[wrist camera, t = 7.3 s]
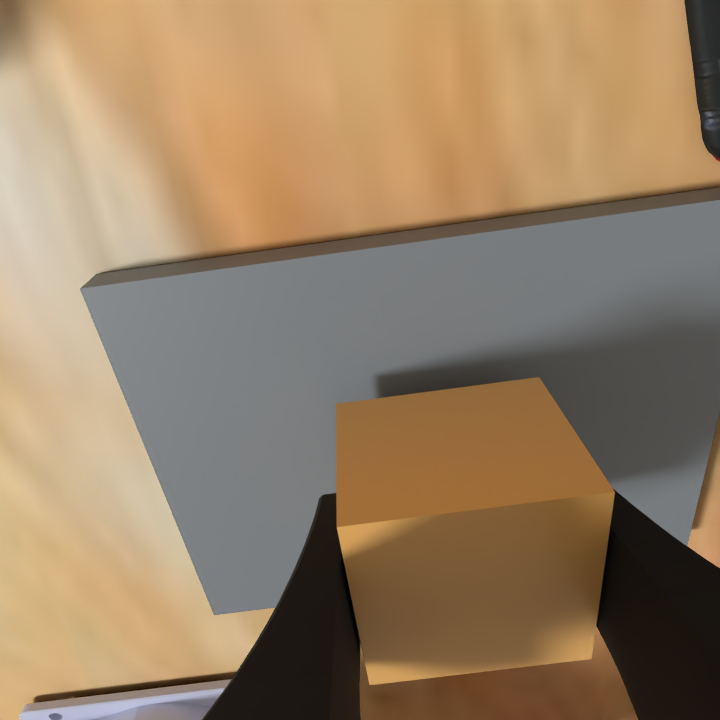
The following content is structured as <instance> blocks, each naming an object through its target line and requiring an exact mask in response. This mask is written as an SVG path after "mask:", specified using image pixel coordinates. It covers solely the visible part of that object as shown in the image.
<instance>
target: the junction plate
mask: <svg viewBox="0 0 720 720" xmlns="http://www.w3.org/2000/svg"><path fill="white" fill-rule="evenodd" d="M80 290H81V293H82V295H83V297H84V300H85V302H86V305H87V307H88V310H89V312H90V314H91V317H92V319H93V322H94V324H95V327H96V329H97V331H98V334H99V336H100V339H101V341H102V344H103V346H104V348H105V351H106V353H107V356H108V358H109V361H110V363H111V365H112V368H113V370H114V373H115V375H116V378H117V380H118V383H119V385H120V387H121V390H122V392H123V395H124V397H125V400H126V402H127V404H128V407H129V409H130V412H131V414H132V417H133V419H134V421H135V424H136V426H137V429H138V431H139V434H140V436H141V438H142V441H143V443H144V446H145V448H146V451H147V453H148V455H149V458H150V460H151V463H152V465H153V468H154V470H155V473H156V475H157V477H158V480H159V482H160V485H161V487H162V490H163V492H164V494H165V497H166V499H167V502H168V504H169V507H170V509H171V511H172V514H173V516H174V519H175V521H176V524H177V526H178V528H179V531H180V533H181V536H182V538H183V541H184V543H185V545H186V548H187V550H188V553H189V555H190V558H191V560H192V562H193V565H194V567H195V570H196V572H197V575H198V577H199V580H200V582H201V584H202V587H203V589H204V592H205V594H206V597H207V599H208V601H209V604H210V606H211V609H212V611H213V614H214V615H219V614H227V613H235V612H243V611H251V610H259V609H267V608H275V607H276V606H277V604H278V602H279V600H280V598H281V596H282V594H283V592H284V590H285V588H286V585H287V583H288V581H289V579H290V577H291V575H292V573H293V571H294V568H295V566H296V564H297V561H298V559H299V556H300V554H301V552H302V549H303V547H304V544H305V542H306V539H307V536H308V534H309V531H310V528H311V525H312V522H313V519H314V516H315V512H316V509H317V505H318V501H319V498H320V497H321V496H322V495H324V494H331V493H336V404H338V403H346V402H353V401H361V400H369V399H376V398H384V397H391V396H399V395H407V394H414V393H422V392H429V391H437V390H445V389H452V388H460V387H467V386H475V385H483V384H490V383H498V382H505V381H513V380H521V379H528V378H536V377H539V378H540V379H541V381H542V382H543V384H544V385H545V387H546V388H547V390H548V391H549V393H550V394H551V396H552V397H553V399H554V400H555V402H556V403H557V405H558V406H559V408H560V409H561V411H562V412H563V414H564V415H565V417H566V419H567V420H568V422H569V423H570V425H571V426H572V428H573V429H574V431H575V432H576V434H577V435H578V437H579V438H580V440H581V441H582V443H583V444H584V446H585V447H586V449H587V450H588V452H589V453H590V455H591V457H592V458H593V460H594V461H595V463H596V464H597V466H598V467H599V469H600V470H601V472H602V473H603V475H604V476H605V478H606V479H607V481H608V482H609V484H610V485H611V487H612V488H613V489H614V490H616V491H617V492H618V493H619V494H620V495H622V496H623V497H624V498H625V499H626V500H628V501H629V502H630V503H631V504H632V505H634V506H635V507H636V508H637V509H639V510H640V511H641V512H642V513H644V514H645V515H646V516H648V517H649V518H650V519H651V520H653V521H654V522H655V523H656V524H658V525H659V526H660V527H661V528H663V529H664V530H665V531H667V532H668V533H669V534H671V535H672V536H673V537H675V538H676V539H678V540H679V541H680V542H682V543H683V544H685V545H686V546H687V544H688V540H689V536H690V532H691V528H692V524H693V520H694V516H695V512H696V508H697V503H698V499H699V495H700V491H701V487H702V483H703V479H704V475H705V471H706V467H707V463H708V459H709V454H710V450H711V446H712V442H713V438H714V434H715V430H716V426H717V422H718V418H719V414H720V187H717V188H710V189H703V190H695V191H688V192H681V193H674V194H667V195H660V196H652V197H645V198H638V199H631V200H624V201H617V202H609V203H602V204H595V205H588V206H581V207H574V208H566V209H559V210H552V211H545V212H538V213H531V214H523V215H516V216H509V217H502V218H495V219H488V220H480V221H473V222H466V223H459V224H452V225H445V226H437V227H430V228H423V229H416V230H409V231H401V232H394V233H387V234H380V235H373V236H366V237H358V238H351V239H344V240H337V241H330V242H323V243H315V244H308V245H301V246H294V247H287V248H280V249H272V250H265V251H258V252H251V253H244V254H237V255H229V256H222V257H215V258H208V259H201V260H194V261H186V262H179V263H172V264H165V265H158V266H151V267H143V268H136V269H129V270H122V271H115V272H108V273H100V274H96V275H95V276H94V277H93V278H92V279H90V280H89V281H88V282H87V283H86V284H85V285H84V286H83V287H81V288H80Z"/></svg>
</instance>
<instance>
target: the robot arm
mask: <svg viewBox="0 0 720 720" xmlns="http://www.w3.org/2000/svg"><path fill="white" fill-rule="evenodd" d="M613 490H614V489H613ZM614 491H615V495H614V503H613V510H612V517H611V524H610V531H609V538H608V545H607V552H606V560H605V567H604V574H603V581H602V588H601V595H600V602H599V610H598V617H597V624H596V626H597V628H598V630H599V632H600V634H601V636H602V637H603V639H604V641H605V643H606V645H607V647H608V649H609V651H610V653H611V655H612V657H613V659H614V662H615V664H616V666H617V668H618V670H619V672H620V675H621V677H622V679H623V682H624V684H625V687H626V689H627V692H628V694H629V697H630V699H631V702H632V704H633V707H634V709H635V712H636V714H637V717H638V720H720V568H718V567H717V566H715V565H714V564H712V563H711V562H709V561H708V560H706V559H705V558H703V557H702V556H700V555H699V554H697V553H696V552H694V551H693V550H692V549H690V548H689V547H687V546H686V545H685V544H683V543H682V542H680V541H679V540H678V539H676V538H675V537H673V536H672V535H671V534H669V533H668V532H667V531H665V530H664V529H663V528H661V527H660V526H659V525H658V524H656V523H655V522H654V521H653V520H651V519H650V518H649V517H648V516H646V515H645V514H644V513H642V512H641V511H640V510H639V509H637V508H636V507H635V506H634V505H632V504H631V503H630V502H629V501H628V500H626V499H625V498H624V497H623V496H622V495H620V494H619V493H618V492H617V491H616V490H614ZM359 682H360V637H359V632H358V627H357V622H356V618H355V613H354V608H353V603H352V599H351V594H350V589H349V584H348V579H347V575H346V570H345V565H344V560H343V555H342V551H341V546H340V541H339V536H338V531H337V507H336V493H331V494H324V495H322V496H321V497H320V498H319V501H318V505H317V509H316V512H315V516H314V519H313V522H312V525H311V528H310V531H309V534H308V536H307V539H306V542H305V544H304V547H303V549H302V552H301V554H300V556H299V559H298V561H297V564H296V566H295V568H294V571H293V573H292V575H291V577H290V579H289V581H288V583H287V585H286V588H285V590H284V592H283V594H282V596H281V598H280V600H279V602H278V604H277V606H276V608H275V610H274V611H273V613H272V615H271V617H270V619H269V621H268V622H267V624H266V626H265V628H264V629H263V631H262V633H261V634H260V636H259V638H258V640H257V641H256V643H255V644H254V646H253V648H252V649H251V651H250V652H249V654H248V655H247V657H246V658H245V660H244V662H243V663H242V665H241V666H240V668H239V669H238V671H237V672H236V674H235V675H234V677H233V678H232V679H228V680H220V681H211V682H203V683H195V684H187V685H178V686H170V687H162V688H153V689H145V690H137V691H128V692H120V693H112V694H104V695H95V696H87V697H79V698H70V699H62V700H54V701H46V702H37V703H30V704H27V705H25V706H24V707H23V709H22V711H21V713H20V715H19V719H20V720H360V691H359Z"/></svg>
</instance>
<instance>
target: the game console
mask: <svg viewBox="0 0 720 720" xmlns="http://www.w3.org/2000/svg"><path fill="white" fill-rule="evenodd" d="M685 7H686V16H687V24H688V31H689V39H690V45H691V53H692V62H693V70H694V78H695V87H696V96H697V104H698V109H699V113H700V119H701V132H702V138H703V141H704V144H705V146H706V148H707V150H708V151H709V152H710V153H711V154H712V155H713V156H714V157H715V158H716V160H718V161H720V0H685Z"/></svg>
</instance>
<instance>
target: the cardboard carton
mask: <svg viewBox="0 0 720 720" xmlns="http://www.w3.org/2000/svg"><path fill="white" fill-rule="evenodd" d="M614 495H615V491H614V490H613V488H612V487H611V485H610V484H609V482H608V481H607V479H606V478H605V476H604V475H603V473H602V472H601V470H600V469H599V467H598V466H597V464H596V463H595V461H594V460H593V458H592V457H591V455H590V453H589V452H588V450H587V449H586V447H585V446H584V444H583V443H582V441H581V440H580V438H579V437H578V435H577V434H576V432H575V431H574V429H573V428H572V426H571V425H570V423H569V422H568V420H567V419H566V417H565V415H564V414H563V412H562V411H561V409H560V408H559V406H558V405H557V403H556V402H555V400H554V399H553V397H552V396H551V394H550V393H549V391H548V390H547V388H546V387H545V385H544V384H543V382H542V381H541V379H540V378H539V377H536V378H528V379H521V380H513V381H505V382H498V383H490V384H483V385H475V386H467V387H460V388H452V389H445V390H437V391H429V392H422V393H414V394H407V395H399V396H391V397H384V398H376V399H369V400H361V401H353V402H346V403H338V404H336V507H337V531H338V536H339V541H340V546H341V551H342V555H343V560H344V565H345V570H346V575H347V579H348V584H349V589H350V594H351V599H352V603H353V608H354V613H355V618H356V622H357V627H358V632H359V637H360V642H361V646H362V651H363V656H364V661H365V666H366V670H367V675H368V680H369V685H376V684H384V683H393V682H401V681H410V680H418V679H427V678H435V677H443V676H452V675H460V674H469V673H477V672H486V671H494V670H503V669H511V668H519V667H528V666H536V665H545V664H553V663H562V662H570V661H579V660H587V659H592V652H593V645H594V638H595V631H596V624H597V617H598V610H599V602H600V595H601V588H602V581H603V574H604V567H605V560H606V552H607V545H608V538H609V531H610V524H611V517H612V510H613V503H614Z"/></svg>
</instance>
